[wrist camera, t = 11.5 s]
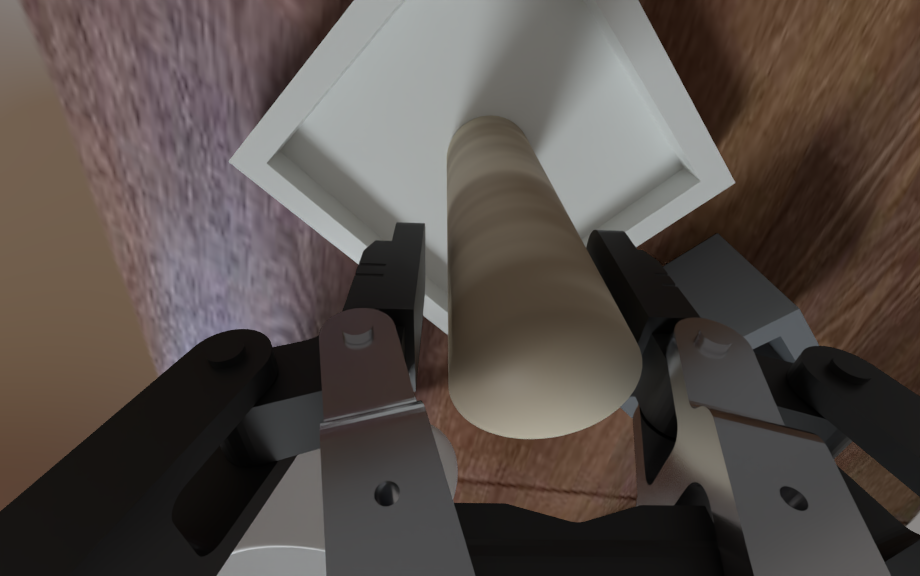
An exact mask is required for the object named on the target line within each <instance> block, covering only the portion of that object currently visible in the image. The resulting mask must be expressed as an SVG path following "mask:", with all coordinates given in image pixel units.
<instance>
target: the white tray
mask: <svg viewBox="0 0 920 576" xmlns="http://www.w3.org/2000/svg"><path fill="white" fill-rule="evenodd" d="M481 116H499V117H503V118H506V119H508V120H510V121H512V122H513V123H515V124H516V125H517V126H518V127H519V128H520V129H521V130H522V131H523V133H524V134H525V136H526V138H527V140H528V141H529V143H530V145H531V147H532V149H533V151H534V153H535V154H536V156H537V158H538V160H539V162H540V164H541V165H542V167H543V169H544V171H545V173H546V175H547V177H548V178H549V180H550V182H551V184H552V186H553V188H554V190H555V191H556V193H557V195H558V197H559V199H560V201H561V203H562V204H563V206H564V208H565V210H566V212H567V214H568V216H569V217H570V219H571V221H572V223H573V225H574V227H575V229H576V230H577V232H578V234H579V236H580V238H581V240H582V241H583V243H584V245H585V247H586V246H587V243H588V239H589V236H590V234H591V232H592V231H593V230H616V231H624V232H625V233H626V234H627V236H628V237H629V238H630V240H631V241H632V243H633V244H634V245H635V247H637V246H639V245H640V244H642V243H643V242H645V241H646V240H648V239H649V238H651V237H653V236H654V235H656V234H657V233H659V232H660V231H662V230H663V229H665V228H666V227H668V226H670V225H671V224H673V223H674V222H676V221H677V220H679V219H680V218H682V217H683V216H685V215H687V214H688V213H690V212H691V211H693V210H694V209H696V208H697V207H699V206H700V205H702V204H703V203H705V202H707V201H708V200H710V199H711V198H713V197H714V196H716V195H717V194H719V193H720V192H722V191H724V190H725V189H727V188H728V187H730V186H731V185H733V184H734V183H735V181H734V179H733V178H732V176H731V174H730V172H729V170H728V168H727V166H726V164H725V162H724V161H723V159H722V157H721V155H720V153H719V151H718V149H717V147H716V146H715V144H714V142H713V140H712V138H711V136H710V134H709V132H708V130H707V129H706V127H705V125H704V123H703V121H702V119H701V117H700V115H699V114H698V112H697V110H696V108H695V106H694V104H693V102H692V100H691V98H690V97H689V95H688V93H687V91H686V89H685V87H684V85H683V83H682V82H681V80H680V78H679V76H678V74H677V72H676V70H675V68H674V66H673V65H672V63H671V61H670V59H669V57H668V55H667V53H666V51H665V50H664V48H663V46H662V44H661V42H660V40H659V38H658V36H657V35H656V33H655V31H654V29H653V27H652V25H651V23H650V21H649V19H648V18H647V16H646V14H645V12H644V10H643V8H642V6H641V4H640V3H639V1H638V0H354V1H353V2H352V3H351V5H350V6H349V7H348V9H347V10H346V11H345V12H344V14H343V15H342V16H341V18H340V19H339V20H338V21H337V23H336V24H335V25H334V27H333V28H332V29H331V30H330V32H329V33H328V34H327V36H326V37H325V38H324V39H323V41H322V42H321V43H320V45H319V46H318V47H317V48H316V50H315V51H314V52H313V54H312V55H311V56H310V57H309V59H308V60H307V61H306V63H305V64H304V65H303V66H302V68H301V69H300V70H299V72H298V73H297V74H296V75H295V77H294V78H293V79H292V81H291V82H290V83H289V84H288V86H287V87H286V88H285V90H284V91H283V92H282V93H281V95H280V96H279V97H278V99H277V100H276V101H275V102H274V104H273V105H272V106H271V108H270V109H269V110H268V111H267V113H266V114H265V115H264V117H263V118H262V119H261V120H260V122H259V123H258V124H257V126H256V127H255V128H254V129H253V131H252V132H251V133H250V135H249V136H248V137H247V138H246V140H245V141H244V142H243V144H242V145H241V146H240V147H239V149H238V150H237V151H236V153H235V154H234V155H233V156H232V158H231V159H230V160H229V163H231V164H232V165H233V166H234V167H236V168H237V169H238V170H240V171H241V172H242V173H243V174H245V175H246V176H247V177H248V178H250V179H251V180H252V181H253V182H255V183H256V184H257V185H259V186H260V187H261V188H262V189H264V190H265V191H266V192H267V193H269V194H270V195H271V196H272V197H274V198H275V199H276V200H278V201H279V202H280V203H281V204H283V205H284V206H285V207H286V208H288V209H289V210H290V211H291V212H293V213H294V214H295V215H297V216H298V217H299V218H300V219H302V220H303V221H304V222H305V223H307V224H308V225H309V226H310V227H312V228H313V229H314V230H316V231H317V232H318V233H319V234H321V235H322V236H323V237H324V238H326V239H327V240H328V241H329V242H331V243H332V244H333V245H334V246H336V247H337V248H338V249H340V250H341V251H342V252H343V253H345V254H346V255H347V256H348V257H350V258H351V259H352V260H353V261H355V262H356V263H357V264H359V262H360V259H361V256H362V253H363V251H364V250H365V249H366V248H367V247H368V246H369V245H371V244H372V243H373V242H374V241H375V240H380V241H392V238H393V234H394V230H395V225H396V222H408V223H425V269H426V275H425V298H424V309H423V316H424V317H426V318H427V319H428V320H429V321H431V322H432V323H433V324H434V325H436V326H437V327H438V328H440V329H441V330H442V331H443V332H445V333H446V334H447V335H448V273H447V151H448V147H449V144H450V142H451V140H452V138H453V136H454V135H455V133H456V132H457V131H458V130H459V129H460V128H461V127H462V126H463V125H464V124H466V123H467V122H469V121H471V120H473V119H475V118H478V117H481Z"/></svg>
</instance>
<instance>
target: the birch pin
mask: <svg viewBox="0 0 920 576" xmlns="http://www.w3.org/2000/svg"><path fill="white" fill-rule="evenodd" d="M447 273H448V385H449V393H450V397H451V399H452V402H453V404H454V406H455V407H456V409H457V410H458V411H459V413H460V414H461V415H462V416H463V417H464V418H465V419H467V420H468V421H469V422H471V423H472V424H474V425H475V426H477V427H479V428H481V429H483V430H485V431H488V432H490V433H493V434H497V435H500V436H505V437H511V438H519V439H542V438H551V437H557V436H562V435H566V434H570V433H574V432H577V431H579V430H582V429H585V428H587V427H589V426H592V425H594V424H596V423H598V422H599V421H601V420H603V419H605V418H606V417H608V416H609V415H611V414H612V413H613V412H615V411H616V410H617V409H618V408H619V407H621V406H622V405H623V404H624V403H625V402H626V400H627V399H628V398H629V397H630V395H631V394H632V393H633V391H634V390H635V388H636V386H637V384H638V382H639V379H640V376H641V372H642V355H641V351H640V348H639V346H638V344H637V342H636V340H635V338H634V336H633V334H632V332H631V330H630V329H629V327H628V325H627V323H626V321H625V319H624V317H623V316H622V314H621V312H620V310H619V308H618V306H617V305H616V303H615V301H614V299H613V297H612V295H611V293H610V292H609V290H608V288H607V286H606V284H605V282H604V280H603V279H602V277H601V275H600V273H599V271H598V269H597V267H596V266H595V264H594V262H593V260H592V258H591V256H590V254H589V253H588V251H587V249H586V247H585V245H584V243H583V241H582V240H581V238H580V236H579V234H578V232H577V230H576V229H575V227H574V225H573V223H572V221H571V219H570V217H569V216H568V214H567V212H566V210H565V208H564V206H563V204H562V203H561V201H560V199H559V197H558V195H557V193H556V191H555V190H554V188H553V186H552V184H551V182H550V180H549V178H548V177H547V175H546V173H545V171H544V169H543V167H542V165H541V164H540V162H539V160H538V158H537V156H536V154H535V153H534V151H533V149H532V147H531V145H530V143H529V141H528V140H527V138H526V136H525V134H524V133H523V131H522V130H521V129H520V128H519V127H518V126H517V125H516V124H515V123H513V122H512V121H510V120H508V119H506V118H503V117H499V116H481V117H478V118H475V119H473V120H471V121H469V122H467V123H466V124H464V125H463V126H462V127H461V128H460V129H459V130H458V131H457V132H456V133H455V135H454V136H453V138H452V140H451V142H450V144H449V147H448V151H447Z"/></svg>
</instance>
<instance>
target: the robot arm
mask: <svg viewBox="0 0 920 576" xmlns="http://www.w3.org/2000/svg"><path fill="white" fill-rule="evenodd" d="M586 249H587V251H588V253H589V254H590V256H591V258H592V260H593V262H594V264H595V266H596V267H597V269H598V271H599V273H600V275H601V277H602V279H603V280H604V282H605V284H606V286H607V288H608V290H609V292H610V293H611V295H612V297H613V299H614V301H615V303H616V305H617V306H618V308H619V310H620V312H621V314H622V316H623V317H624V319H625V321H626V323H627V325H628V327H629V329H630V330H631V332H632V334H633V336H634V338H635V340H636V342H637V344H638V346H639V348H640V351H641V355H642V372H641V376H640V379H639V382H638V384H637V386H636V388H635V390H634V391H633V393H632V394H631V395H630V397H636V399H637V401H638V406H637V408H636V410H635V412H634V415H633V432H634V447H635V463H636V478H637V503H636V507H633V508H629V509H626V510H623V511H619V512H616V513H612V514H609V515H606V516H602V517H599V518H596V519H592V520H589V521H585V522H580V523H577V522H570V521H566V520H563V519H559V518H556V517H552V516H548V515H545V514H541V513H538V512H534V511H530V510H527V509H523V508H519V507H516V506H512V505H509V504H497V503H454V502H453V499H452V495H451V492H450V489H449V485H448V482H447V479H446V475H445V472H444V469H443V465H442V462H441V459H440V455H439V452H438V449H437V445H436V442H435V438H434V435H433V432H432V428H431V425H430V422H429V418H428V415H427V412H426V409H425V406H424V404H423V402H422V401H421V400H420V401H417V400H416V398H415V394H414V391H416V383H417V373H418V362H419V351H420V341H421V330H422V320H423V309H424V298H425V275H426V269H425V223H408V222H396V225H395V230H394V234H393V238H392V241H380V240H375V241H374V242H373V243H372V244H371V245H369V246H368V247H367V248H366V249H365V250H364V251H363V253H362V256H361V259H360V262H359V265H358V268H357V271H356V276H354V279H353V282H352V285H351V288H350V291H349V294H348V297H347V300H346V303H345V305H344V308H343V311H342V312H340V313H338V314H336V315H334V316H333V317H331V318H330V319H328V320H327V321H326V322H325V323H324V325H323V326H322V328H321V330H320V333H319V336H317V337H315V338H312V339H309V340H306V341H302V342H297V343H292V344H287V345H282V346H277V347H272V345H271V342H270V340H269V338H268V337H267V336H265V335H264V334H262V333H261V332H258V331H255V330H249V329H237V330H230V331H226V332H222V333H219V334H216V335H213V336H211V337H209V338H207V339H205V340H204V341H202V342H200V343H199V344H197V345H196V346H195V347H194V348H192V349H191V350H190V351H189V352H188V353H186V354H185V355H184V356H183V357H182V358H181V359H179V360H178V361H177V362H176V363H175V364H173V365H172V366H171V367H170V368H169V369H168V370H166V371H165V372H164V373H163V374H162V375H161V376H159V377H158V378H157V379H156V380H155V381H153V382H152V383H151V384H150V385H149V386H148V387H146V388H145V389H144V390H143V391H142V392H140V394H138V395H137V396H136V397H135V398H133V399H132V400H131V401H130V402H129V403H128V404H126V405H125V406H124V407H123V408H122V409H121V410H119V411H118V412H117V413H116V414H115V415H113V416H112V417H111V418H110V419H109V420H108V421H106V422H105V423H104V424H103V425H102V426H100V427H99V428H98V429H97V430H96V431H95V432H93V433H92V434H91V435H90V436H89V437H87V438H86V439H85V440H84V441H83V442H82V443H81V444H79V445H78V446H77V447H76V448H75V449H73V450H72V451H71V452H70V453H69V454H68V455H66V456H65V457H64V458H63V459H62V460H60V461H59V462H58V463H57V464H56V465H55V466H53V467H52V468H51V469H50V470H49V471H47V472H46V473H45V474H44V475H43V476H42V477H40V478H39V479H38V480H37V481H36V482H35V483H33V484H32V485H31V486H30V487H29V488H27V489H26V490H25V491H24V492H23V493H21V494H20V495H19V496H18V497H17V498H16V499H14V500H13V501H12V502H11V503H10V504H9V505H7V506H6V507H5V508H4V509H3V510H1V511H0V576H217V574H218V573H219V571H220V570H221V568H222V567H223V566H224V564H225V563H226V561H227V560H228V558H229V557H230V555H231V554H232V552H233V551H234V549H235V548H236V546H237V545H238V543H239V542H240V540H241V539H242V537H243V536H244V534H245V533H246V531H247V530H248V528H249V527H250V525H251V524H252V522H253V521H254V519H255V518H256V516H257V515H258V514H259V512H260V511H261V509H262V508H263V506H264V505H265V503H266V502H267V500H268V499H269V497H270V496H271V494H272V493H273V491H274V490H275V488H276V487H277V485H278V484H279V482H280V481H281V479H282V478H283V476H284V475H285V473H286V472H287V470H288V469H289V467H290V466H291V464H292V463H293V461H294V460H295V458H296V457H297V455H299V454H303V453H306V452H310V451H313V450H317V449H320V454H321V475H322V495H323V516H324V537H325V558H326V576H920V535H919V534H917V533H915V532H913V531H911V530H909V529H908V528H906V527H905V526H904V525H903V524H901V523H900V522H899V521H898V520H897V519H896V518H895V517H894V516H893V515H891V514H890V513H889V512H888V511H887V510H886V509H885V508H884V507H883V506H881V505H880V504H879V503H878V502H877V501H876V500H875V499H874V498H873V497H871V496H870V495H869V494H868V493H867V492H866V491H865V490H864V489H863V488H861V487H860V486H859V485H858V484H857V483H856V482H855V481H854V480H853V479H851V478H850V477H849V476H848V475H847V474H846V473H845V472H844V471H843V470H841V469H840V468H839V467H838V466H837V465H836V463H835V461H834V458H836V457H837V456H838V455H839V454H840V453H841V452H842V451H843V450H844V449H845V448H846V447H847V446H848V445H849V444H850V443H851V442H852V441H853V442H854V443H856V444H857V445H858V446H859V447H860V448H862V449H863V450H864V451H865V452H866V453H868V454H869V455H870V456H871V457H872V458H874V459H875V460H876V461H877V462H878V463H880V464H881V465H882V466H883V467H884V468H886V469H887V470H888V471H889V472H890V473H892V474H893V475H894V476H895V477H897V478H898V479H899V480H900V481H901V482H903V483H904V484H905V485H906V486H907V487H909V488H910V489H911V490H912V491H913V492H915V493H916V494H917V495H918V496H919V497H920V396H918V395H917V394H915V393H914V392H912V391H911V390H909V389H908V388H906V387H905V386H903V385H902V384H900V383H899V382H897V381H896V380H894V379H893V378H891V377H890V376H888V375H887V374H885V373H884V372H882V371H881V370H879V369H878V368H876V367H875V366H873V365H872V364H870V363H868V362H867V361H865V360H863V359H861V358H859V357H857V356H855V355H853V354H851V353H848V352H845V351H843V350H839V349H836V348H832V347H827V346H811V347H808V348H806V349H804V350H803V351H802V353H801V354H800V355H799V357H798V358H797V359H796V361H795V362H794V363H791V362H787V361H783V360H779V359H775V358H771V357H766V356H762V355H758V354H755V353H754V351H753V349H752V347H751V345H750V344H749V342H748V341H747V340H746V339H745V338H744V337H743V336H742V335H740V334H739V333H738V332H736V331H735V330H733V329H732V328H730V327H728V326H726V325H724V324H721V323H719V322H716V321H713V320H709V319H705V318H701V317H700V316H699V314H698V313H697V312H696V310H695V309H694V308H693V306H692V305H691V304H690V303H689V301H688V300H687V299H686V297H685V296H684V295H683V293H682V292H681V291H680V289H679V288H678V287H675V283H674V281H673V280H672V279H671V277H670V276H668V273H667V272H666V271H665V269H664V268H663V267H662V265H661V264H660V263H659V261H657V260H656V259H655V258H653V257H652V256H650V255H649V254H647V253H646V252H644V251H643V250H637V248H636V247H635V245H634V244H633V243H632V241H631V240H630V238H629V237H628V236H627V234H626V233H625V232H624V231H616V230H593V231H592V232H591V234H590V236H589V239H588V243H587V246H586Z"/></svg>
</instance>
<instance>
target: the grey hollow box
mask: <svg viewBox="0 0 920 576" xmlns="http://www.w3.org/2000/svg"><path fill="white" fill-rule="evenodd" d="M663 268H664V269H665V271H666V272H667V273H668V276H670V277H671V279H672V280H673V281H674V283H675V287H678V288H679V289H680V291H681V292H682V293H683V295H684V296H685V297H686V299H687V300H688V301H689V303H690V304H691V305H692V306H693V308H694V309H695V310H696V312H697V313H698V314H699V316H700V317H701V318H705V319H709V320H713V321H716V322H719V323H721V324H724V325H726V326H728V327H730V328H732V329H733V330H735V331H736V332H738V333H739V334H740V335H742V336H743V337H744V338H745V339H746V340H747V341H748V342H749V344H750V345H751V347H752V349H753V351H754V353H755V354H758V355H762V356H766V357H771V358H775V359H779V360H783V361H787V362H791V363H794V362H795V361H796V359H797V358H798V357H799V355H800V354H801V353H802V351H803V350H804V349H806V348H808V347H811V346H819V345H818V343H817V341H816V339H815V337H814V335H813V333H812V332H811V330H810V328H809V326H808V324H807V322H806V320H805V319H804V317H803V315H802V313H801V311H800V309H799V308H798V307H797V306H796V305H795V304H794V303H793V302H791V301H790V300H789V299H788V298H787V297H786V296H785V295H784V294H783V293H782V292H781V291H780V290H778V289H777V288H776V287H775V286H774V285H773V284H772V283H771V282H770V281H769V280H768V279H767V278H766V277H764V276H763V275H762V274H761V273H760V272H759V271H758V270H757V269H756V268H755V267H754V266H753V265H751V264H750V263H749V262H748V261H747V260H746V259H745V258H744V257H743V256H742V255H741V254H740V253H739V252H737V251H736V250H735V249H734V248H733V247H732V246H731V245H730V244H729V243H728V242H727V241H726V240H724V239H723V238H722V237H721V236H720V235H719V234H718V233H717V234H715V235H714V236H712V237H711V238H709V239H707V240H706V241H704V242H702V243H701V244H699V245H697V246H696V247H694V248H693V249H691V250H689V251H688V252H686V253H684V254H683V255H681V256H679V257H678V258H676V259H674V260H673V261H671V262H670V263H668V264H666V265H665V266H663ZM637 406H638V401H637V399H636V397H629V398H628V399H627V400H626V402H625V403H624V404H623V405H622V406H621V408H622V409H623V410H624V411H625V412H626V413H627V414H628V415H629V416H630V417H631V418H633V415H634V412H635V410H636V408H637Z"/></svg>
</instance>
